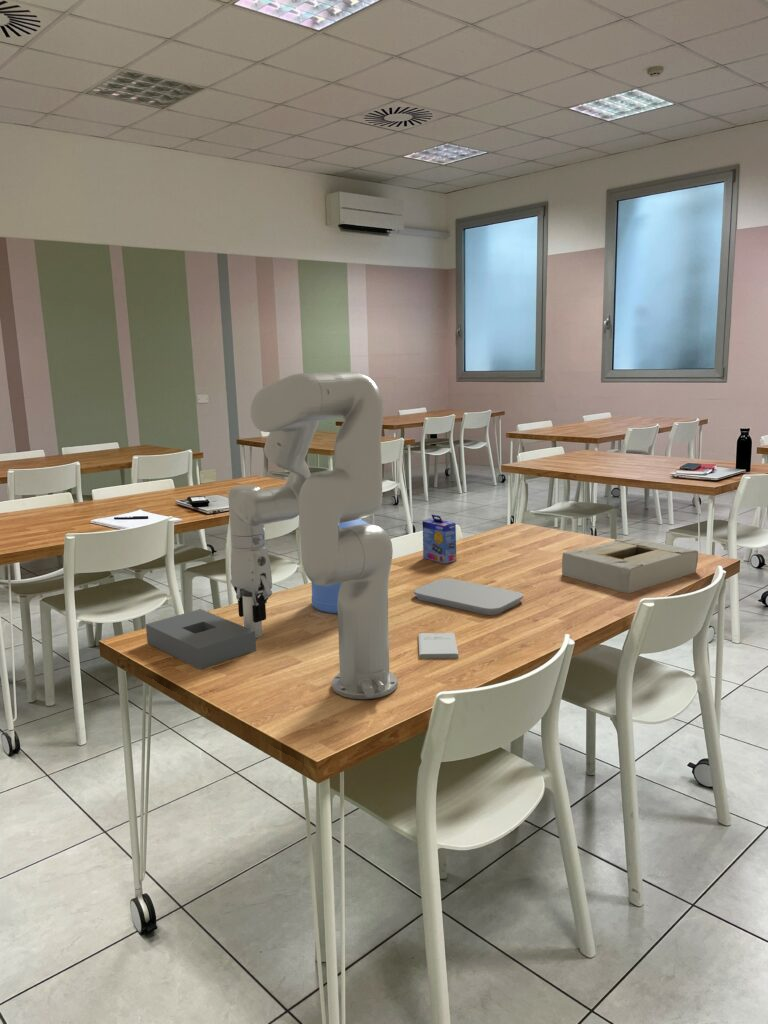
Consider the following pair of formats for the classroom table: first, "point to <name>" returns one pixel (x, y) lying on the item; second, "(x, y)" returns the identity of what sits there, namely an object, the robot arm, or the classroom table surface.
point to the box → (629, 564)
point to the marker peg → (250, 613)
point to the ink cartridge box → (439, 540)
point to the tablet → (468, 596)
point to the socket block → (200, 638)
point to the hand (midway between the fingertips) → (252, 617)
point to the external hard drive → (437, 645)
